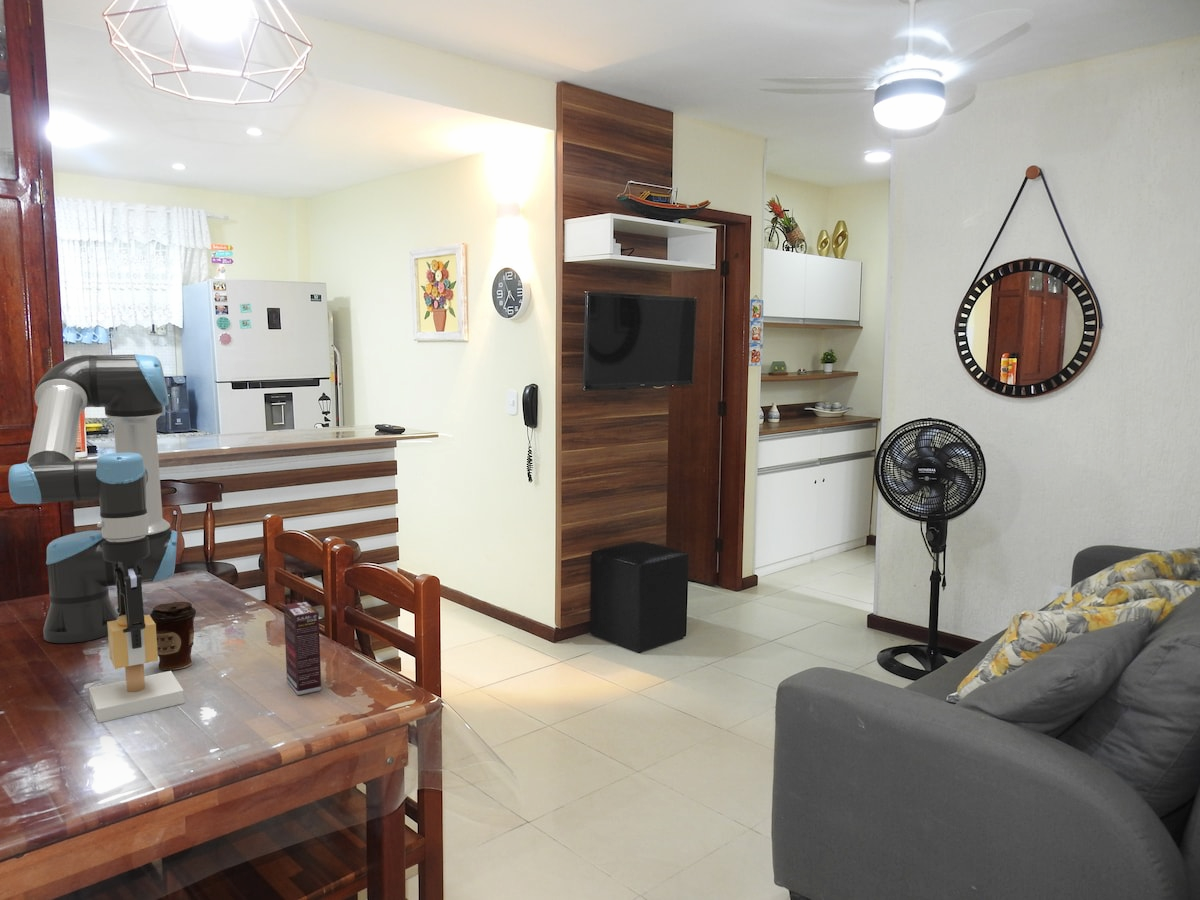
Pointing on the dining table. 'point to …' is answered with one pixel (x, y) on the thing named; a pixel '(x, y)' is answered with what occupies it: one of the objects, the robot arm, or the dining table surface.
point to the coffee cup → (174, 634)
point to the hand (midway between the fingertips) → (133, 657)
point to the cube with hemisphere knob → (120, 641)
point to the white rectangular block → (135, 694)
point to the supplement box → (302, 647)
